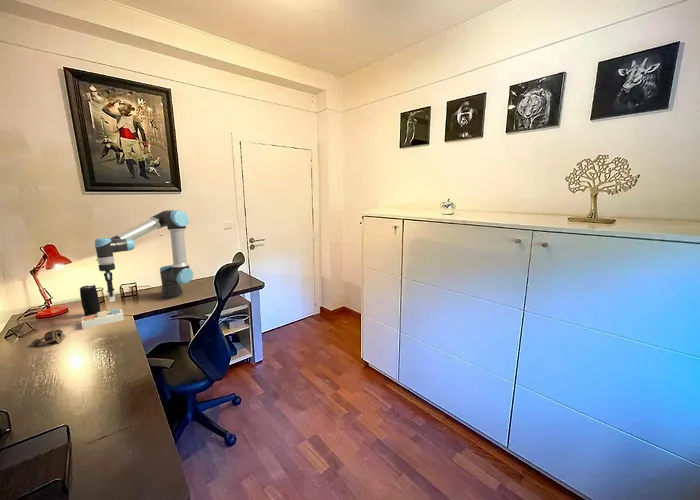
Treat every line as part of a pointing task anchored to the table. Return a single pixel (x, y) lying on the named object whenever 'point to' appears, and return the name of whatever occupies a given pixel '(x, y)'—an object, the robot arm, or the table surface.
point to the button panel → (102, 319)
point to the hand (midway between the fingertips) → (112, 301)
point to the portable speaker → (89, 300)
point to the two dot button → (102, 313)
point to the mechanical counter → (50, 337)
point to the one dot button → (114, 311)
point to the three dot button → (89, 317)
